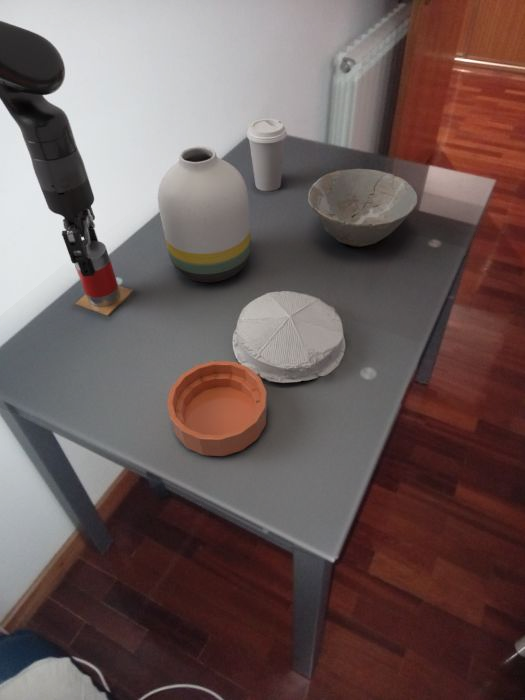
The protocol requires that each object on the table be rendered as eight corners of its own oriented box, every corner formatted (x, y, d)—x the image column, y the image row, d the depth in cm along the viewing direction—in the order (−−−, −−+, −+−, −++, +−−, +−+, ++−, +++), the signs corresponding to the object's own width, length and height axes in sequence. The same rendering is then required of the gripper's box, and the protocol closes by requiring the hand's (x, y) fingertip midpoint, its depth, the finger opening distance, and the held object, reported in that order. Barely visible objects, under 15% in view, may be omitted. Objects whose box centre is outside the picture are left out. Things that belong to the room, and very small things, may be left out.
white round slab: (273, 292, 97) (272, 264, 92) (364, 331, 88) (369, 303, 83) (209, 355, 86) (204, 327, 81) (306, 406, 78) (307, 378, 73)
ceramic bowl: (411, 213, 115) (420, 173, 107) (403, 273, 100) (412, 231, 92) (318, 202, 119) (320, 162, 112) (296, 257, 104) (297, 216, 97)
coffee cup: (288, 193, 122) (289, 132, 112) (250, 195, 122) (247, 135, 111) (284, 174, 129) (284, 116, 118) (248, 177, 129) (245, 118, 118)
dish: (238, 473, 70) (236, 454, 66) (154, 435, 75) (148, 416, 71) (282, 399, 79) (282, 379, 75) (204, 369, 83) (200, 349, 80)
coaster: (108, 316, 93) (107, 314, 93) (75, 304, 96) (75, 303, 96) (133, 291, 98) (133, 290, 98) (102, 281, 101) (101, 279, 100)
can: (106, 311, 94) (90, 264, 86) (81, 301, 96) (63, 255, 88) (127, 291, 98) (113, 245, 90) (102, 283, 100) (86, 237, 92)
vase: (264, 250, 106) (260, 140, 89) (231, 299, 96) (220, 185, 78) (195, 235, 111) (178, 128, 93) (156, 280, 100) (130, 168, 83)
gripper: (45, 159, 83) (75, 241, 95) (31, 203, 73) (65, 287, 85) (91, 155, 84) (114, 236, 95) (82, 197, 74) (109, 282, 86)
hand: (91, 260), depth 90 cm, fingers open, 8 cm apart
